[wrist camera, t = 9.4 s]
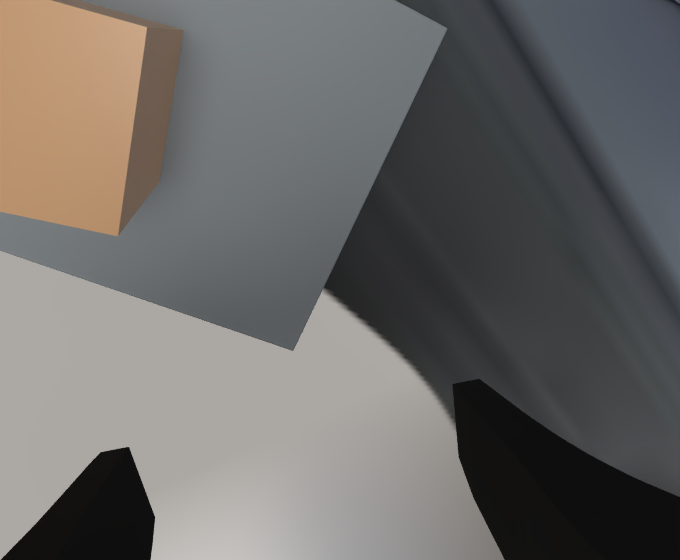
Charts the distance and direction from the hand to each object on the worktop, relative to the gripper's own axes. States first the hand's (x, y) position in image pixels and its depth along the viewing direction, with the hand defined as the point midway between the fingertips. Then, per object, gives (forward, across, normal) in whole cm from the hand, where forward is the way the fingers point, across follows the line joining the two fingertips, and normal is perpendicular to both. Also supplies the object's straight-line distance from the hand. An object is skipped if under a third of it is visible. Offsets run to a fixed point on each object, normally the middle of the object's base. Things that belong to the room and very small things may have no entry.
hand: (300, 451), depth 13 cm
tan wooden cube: (+8, +4, -8) cm, 12 cm away
